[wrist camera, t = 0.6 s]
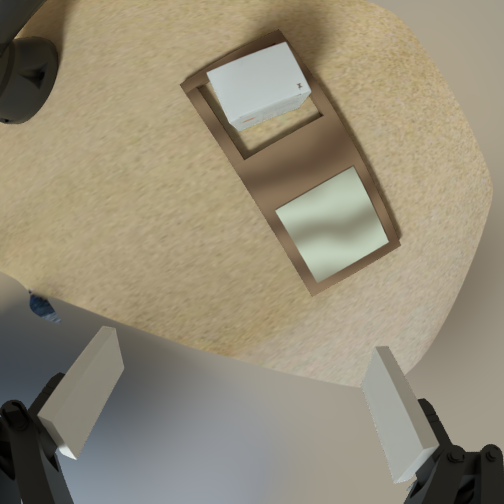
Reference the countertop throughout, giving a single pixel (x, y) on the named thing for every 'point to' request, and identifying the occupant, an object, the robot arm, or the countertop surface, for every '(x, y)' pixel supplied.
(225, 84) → the small box
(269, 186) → the board
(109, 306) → the countertop surface
